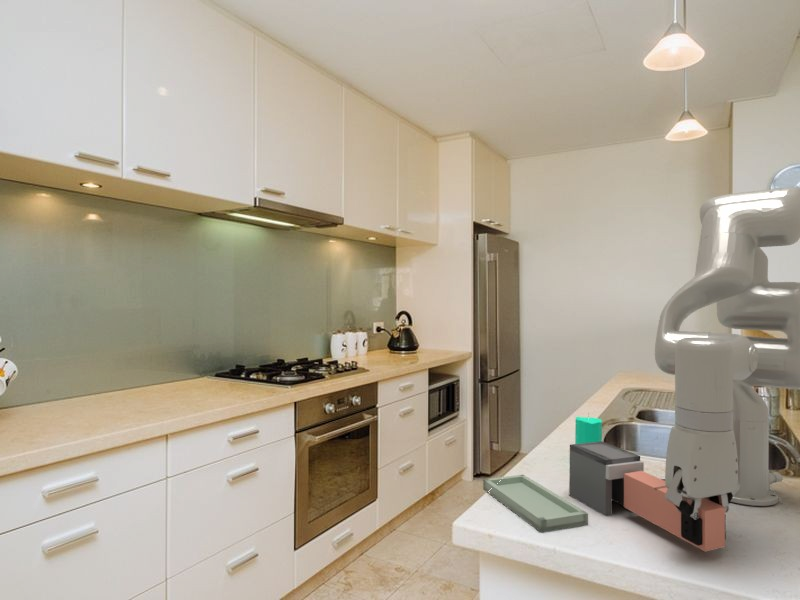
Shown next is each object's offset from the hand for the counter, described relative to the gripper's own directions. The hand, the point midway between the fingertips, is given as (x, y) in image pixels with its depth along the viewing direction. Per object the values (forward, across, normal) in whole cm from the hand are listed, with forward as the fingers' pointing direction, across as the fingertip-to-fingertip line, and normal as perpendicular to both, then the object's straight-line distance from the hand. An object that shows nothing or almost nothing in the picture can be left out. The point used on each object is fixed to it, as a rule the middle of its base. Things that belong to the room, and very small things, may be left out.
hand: (703, 537), depth 76 cm
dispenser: (+3, +1, -20) cm, 21 cm away
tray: (+2, +15, -24) cm, 28 cm away
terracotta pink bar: (+1, 0, -6) cm, 6 cm away
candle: (+4, -12, -40) cm, 42 cm away
